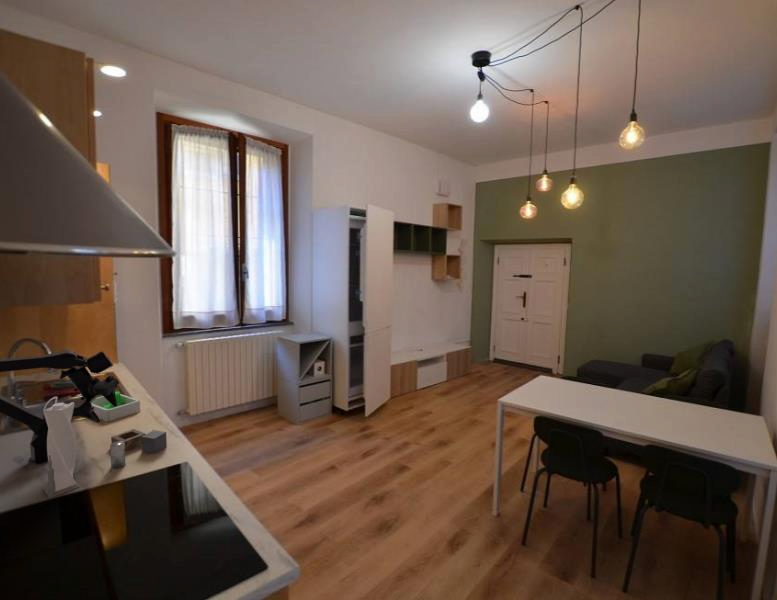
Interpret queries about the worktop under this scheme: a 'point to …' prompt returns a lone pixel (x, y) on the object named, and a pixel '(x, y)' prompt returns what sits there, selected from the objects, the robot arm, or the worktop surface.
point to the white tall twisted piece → (60, 448)
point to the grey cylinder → (117, 454)
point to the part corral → (111, 414)
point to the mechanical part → (118, 399)
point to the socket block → (129, 439)
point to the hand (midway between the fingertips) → (108, 413)
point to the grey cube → (154, 442)
